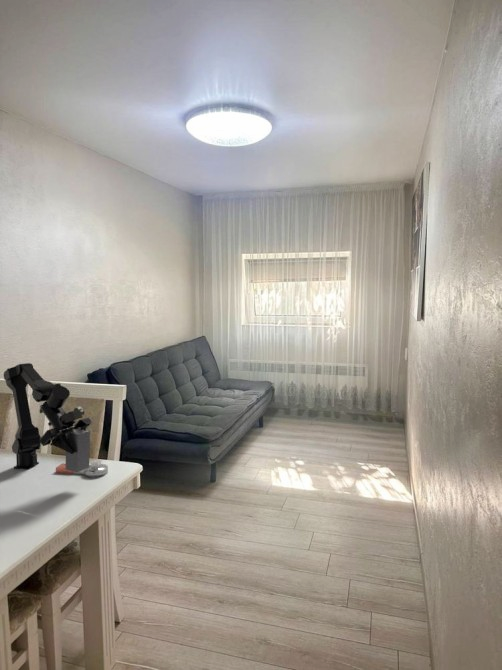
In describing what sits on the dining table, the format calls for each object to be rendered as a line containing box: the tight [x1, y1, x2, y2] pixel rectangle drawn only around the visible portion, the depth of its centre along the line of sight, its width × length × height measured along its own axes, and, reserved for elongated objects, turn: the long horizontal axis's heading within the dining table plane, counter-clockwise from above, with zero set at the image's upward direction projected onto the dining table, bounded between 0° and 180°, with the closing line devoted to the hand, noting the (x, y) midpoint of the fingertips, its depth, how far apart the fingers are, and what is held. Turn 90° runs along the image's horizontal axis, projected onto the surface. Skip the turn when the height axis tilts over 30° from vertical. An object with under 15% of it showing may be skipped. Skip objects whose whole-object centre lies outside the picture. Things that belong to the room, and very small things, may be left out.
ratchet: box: [55, 459, 109, 479], centre depth 165 cm, size 19×8×4 cm, turn 82°
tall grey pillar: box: [65, 429, 91, 472], centre depth 151 cm, size 5×5×13 cm
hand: (80, 450), depth 150 cm, fingers closed on tall grey pillar, 6 cm apart
